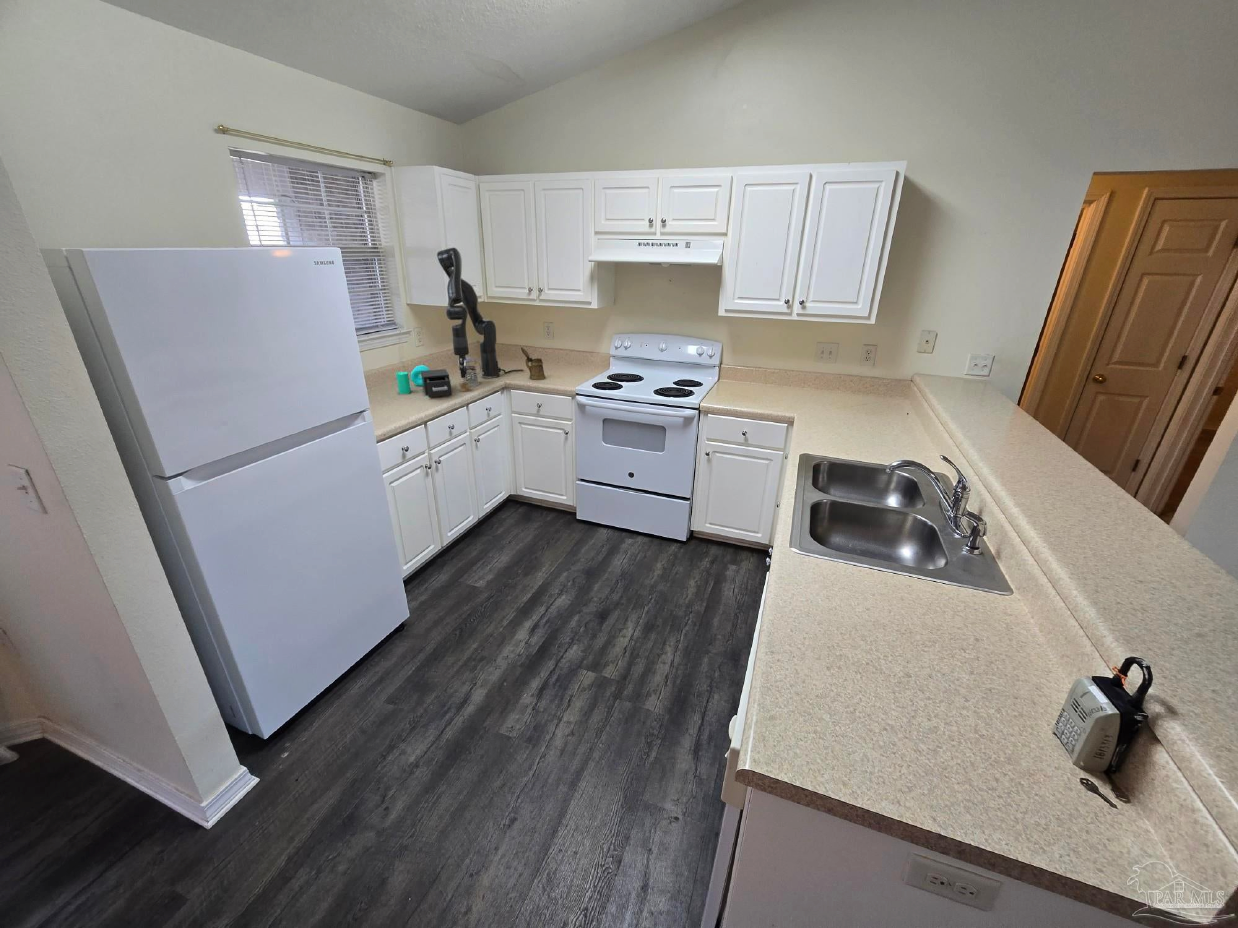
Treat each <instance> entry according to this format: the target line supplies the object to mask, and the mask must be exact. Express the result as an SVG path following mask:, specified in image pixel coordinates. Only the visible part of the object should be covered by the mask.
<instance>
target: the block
mask: <svg viewBox="0 0 1238 928" xmlns="http://www.w3.org/2000/svg"><path fill="white" fill-rule="evenodd" d="M459 390H460V392H463V393H464V392H470V391H471V386H470V385H469V382H468V381H463V380H462V381H459Z"/></svg>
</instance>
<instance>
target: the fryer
mask: <svg viewBox="0 0 1238 928" xmlns="http://www.w3.org/2000/svg"><path fill="white" fill-rule="evenodd" d="M420 376H421V377H422V383H423V386H422V389H423V392H424V395H425V396H428V391H427V384H426V378H436V377H447V379H448V380H450V381H451V379H450V374H449V373H448V371H447V369H446V368H441V369H430V370H428V371H421V374H420Z"/></svg>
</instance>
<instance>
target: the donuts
mask: <svg viewBox="0 0 1238 928" xmlns="http://www.w3.org/2000/svg"><path fill="white" fill-rule="evenodd" d="M428 370H431V369H430V368H429V367H427V366H426V365H423V364H422V365H417V366H415V367H414V368H413V370H412V371H411V372H410V380H411V382H412V383H413V384H414V385H415V386H418V387H423V383H422V376H421V371H428Z"/></svg>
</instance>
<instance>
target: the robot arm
mask: <svg viewBox="0 0 1238 928" xmlns="http://www.w3.org/2000/svg"><path fill="white" fill-rule="evenodd" d="M436 258H437V260H438V263H439V265H440V267H441V268H442V270H443V272H444V273H445V275H446V276H447V278H448V279H449V280H448V282H447V287H446V289H447V290H446V291H447V306H446V310H445V316H446V317H447V319H448V320H449V321H460V322H459V323H457V324H453V325H451V334H452V348H453V354H454V355H455V356H458V358H457V362H458V368H459V371H460V377H461V378H460V379H463V378H466V375H465V374H467V372H466V366H467V363H468V362H466V357H467V356H469V354H470V351H469V349H470V348H469V340H468V335H467V320H468V316H469V319H470V321H471V324H472V326H473V329H474V330H475V332H476V334H478V335H479V336H483V340H482V341H480V342H479V344H478V346H479V353H480V354H479V356H480V365H481V372H480V374H482V375H481V376H482V378H483V379H493V378H498V377H500V374H501V373H502V372H503V373H504V374H509V373H511V372H523V371H524V368H523V369H521V368H520V369H511V370H508V371H506V369H504V368H501V367H500V366H499V360H498V356H497V346H496V345H497V326H496V323H495V322H494V321H493V320H491V319H487V318H486V319H485V318H484V317H483V315H482V314H481V311H480V309H479V297H478V295H477V292H476V291H475V288H474V287H473V285H472V284H471V283H469V282H468V281H467V280H466V279H464V278H463V277H462V270H463V260H462V259H463V258H462V255H461V252H460V250H459V249H458V248H457V247H455V246H453V247H448V248H445V249H441V250H439V251H438V252H437V253H436ZM460 304H462V305H460Z"/></svg>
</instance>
